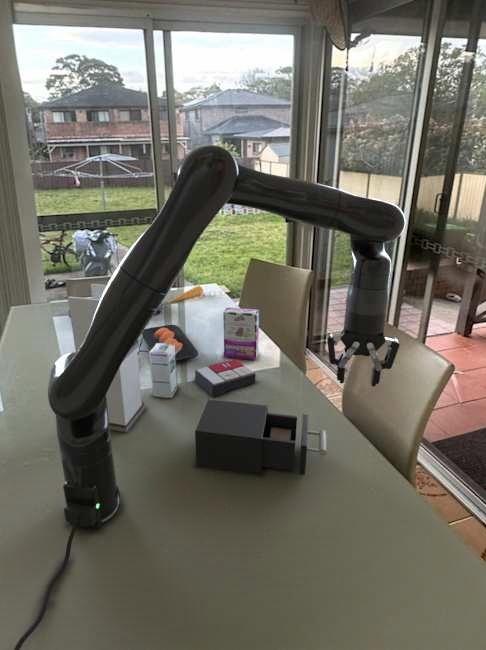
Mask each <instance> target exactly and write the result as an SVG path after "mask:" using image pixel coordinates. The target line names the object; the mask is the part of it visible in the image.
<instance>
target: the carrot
mask: <svg viewBox="0 0 486 650" xmlns="http://www.w3.org/2000/svg"><path fill="white" fill-rule="evenodd" d="M203 293H204V288H203V286H200V285H196V286H194V287H192V288H190V289H189V290H187V291H185V292H183V293H181V294H179V295H177V296H176V297H173V298H172V299H170V300H168V301H167V302H166V304H169V303H174V302H178V301H182V300H186V299H190V298H195V297H198V296H201V295H202V294H203Z"/></svg>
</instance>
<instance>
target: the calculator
mask: <svg viewBox="0 0 486 650" xmlns="http://www.w3.org/2000/svg"><path fill="white" fill-rule="evenodd" d="M256 375H257V374H256V373H255V372H254V371H253V370H252V369H250V368H249V367H247V366H246V365H244V364H243V363H241V362H240V361H239V360H237V358H234V359H231V360H227V361H223V362H219V363H216V364H211V365H208V366H205V367H200V368H198V369H195V370H194V381H195V382H196V383H197V384H198V385H199V386H200V387H201V388H203V390H205V391H206V392H207V393H208V394H209V395H210V396H211V397H214V398H215V397H217V396H221V395H224V394H226V392H229V391H231V390H232V391H233V390H235V389H239V388H242V387H246V386H249V385H252V384H256Z"/></svg>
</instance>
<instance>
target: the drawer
mask: <svg viewBox="0 0 486 650" xmlns="http://www.w3.org/2000/svg"><path fill="white" fill-rule="evenodd" d="M301 421H302V423H301V425H302V426H301V434H300V435H301V436H300V438H301V439H300V453H299V470H298V471H299V472H298V475H299V476H305V475H306V466H307V465H306V464H307V453H308V452H310V453H311V452H312V453H318V454H319V455H320V456H326V455H327V454H328V443H327V431H326V430H325V429H321V430H319V431H317V430H316V431H315V430H309V414H305V413H303V414H302V420H301ZM297 422H298V416H297V415H292V414H291V415H290V414H284V413H283V414H281V413H274V412H273V413H272V412H268V413H267V417H266V422H265V427H264V433H263V438H262V465H261V466H262V468H263V467H264V468H270V469H279V470H286V471H294V468H295V454H296V441H297V438H296V437H297V426H298V425H297ZM271 427H274V428H282V429H291V439H290V440H283V439H275V438H270V433H271ZM308 435H312V436H318V447H319V448H316V447H308Z"/></svg>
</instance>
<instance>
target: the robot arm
mask: <svg viewBox="0 0 486 650" xmlns="http://www.w3.org/2000/svg"><path fill="white" fill-rule="evenodd" d="M226 205H234V206H241V207H246V208H251V209H255V210H259V211H263V212H267V213H270V214H272V215H276V216H279V217H281V218H285V219H288V220H291V221H294V222H298V223H301V224H305V225H309V226H313V227H316V228H320V229H325V230H331V231H337V232H341V233H345V234H348V236H349V244H350V245H349V247H350V253H351V267H350V275H349V285H348V289H347V292H346V299H345V311H344V313H345V314H344V323H343V329H342V330H341V333H337V334H334V333H332V332H328V333H327V334H326V341H327V350H328V351H327V352H328V358H329V359H328V361H329V363H330V365H335V366H337V368H336V379H337V381H339V384H344V383H345V374H346V365H347V363H348V362H349V361H350V360H351V359H352V357H353V356H363V357H370V358H371V362H372V363H373V365H372V368H371V374H370V375H371V376H370V384H371V385H370V386H371V387H376V385H379V383H380V380H381V373H382V371H383V370H386V369H387V370H391V369H392V367H393V365H394V363H395V359H396V357H397V354H398V351H399V348H400V343H399V339H398V338H397V337H392V338H390V337H387V336H385V334H384V333H385V326H386V320H387V311H388V304H389V288H390V287H389V285H390V279H391V270H392V260H391V258H390V256H389V255H388V253H387V252H386V250H385V244H387V243H388V244H389V243H392V242H393V241H395V240H396V239H398V238H399V237H400V236H401V235H402V233H403V232H404V230H405V227H406V217H405V214H404V212H403V210H402V209H401V208H400V207H399V206H398V205H396V204H394V203H391V202H388V201H384V200H380V199H378V198H371V197H370V198H369V197H364V196H359V195H356V194H353V193H351V192H348V191H346V190H343V189H341V188H337V187H333V186H330V185H326V184H322V183H318V182H316V181H315V182H314V181H310V180H306V179H300V178H294V177H287V176H282V175H276V174H272V173H268V172H263V171H259V170H256V169H253V168H250V167H247V166H245V165H241V164H240V163H238V162H237V161H236V159H235V157H234V155H233V153H231V152H230V151H229V150H228V149H227V148H224V147H223V146H219V145H215V144H205V145H199V146H197V147H195V148H193V149H192V150H190V151H188V153H186V154H185V155H184V157H183V158H182V159H181V160H180V161H179V164H178V167H177V171H176V180H175V181H174V184H173V186H172V188H171V190H170V192H169V195H168V196H167V198H166V200H165V202H164V204H163V206H162V208H161V209H160V211H159V212H158V214H157V216H156V217H155V219H154V220H153V221H152V223H150V225H149V226H148V227H147V228H146V229H145V230H144V232H142V234H141V235H140V236H139V238H138V239H137V240H136V241H135V242H134V244H132V246H131V247H130V249H129V250H128V251H127V253H126V254H125V256H124V257H123V258H122V259H121V261H120V263H119V264H118V266H117V268H116V269H115V271H114V272H113V275H112V276H111V278H110V279H109V280H108V283H107V284H106V285H107V286H106V288H105V290H104V293H103V295H102V297H101V300H100V302H99V305H98V307H97V310H96V312H95V315H94V318H93V321H92V324H91V326H90V329H89V332H88V334H87V336H86V338H85V340H84V342H83V344H82V345H81V347H80V349H79V350H78V352H76V351H72V352H69V353H66V354H63V356H61V357H59V358H58V359H57V360H56V361H55V362H54V363H53V366H52V368H51V369H50V374H49V380H48V386H47V399H48V404H49V407H50V409H51V411H52V413H54V415H55V424H56V425H55V426H56V437H57V443H58V448H59V454H60V460H61V465H62V472H63V477H64V484H63V485H62V487H63V493H64V498H65V499H64V500H65V506H64V508H63V512H64V519H65V522H66V523H69V524H70V525H71V526H72V528H71V530H70V533H69V536H68V540H67V543H66V549H65V555H64V558H63V561H62V563H61V565H60V566H59V568H58V569H57V571H56V573H55V574H54V575H53V577H52V578H51V580H50V582H49V583H48V586H47V588H46V590H45V593H44V596H43V600H42V604H41V608H40V611H39V613H38V615H37V617H36V619H35V620H34V622H33V623H32V624H31V626H30V627H28V629H27V630H26V631H25V633H24V634H23V635H21V637H20V638H19V640H18V642H17V643H16V645H15V647H14V649H13V650H21V648H22V646H23V644H24V643H25V641H26V640H28V638H29V637H30V636H31V635H32V634H33V632H35V630H36V629H37V628H38V626H39V625H40V623H41V622H42V620H43V618H44V615H45V613H46V610H47V608H48V603H49V599H50V595H51V592H52V589H53V587H54V586H55V583H56V582H57V580H58V578H59V577H60V576H61V575H62V573H63V571H64V570H65V568H66V566H67V564H68V562H69V559H70V556H71V548H72V544H73V540H74V537H75V534H76V531H77V528H78V527H84V528H91V529H94V530H95V529H96V530H100V529H101V527H102V526H103V525H104V524H106V523H107V522H109V521H110V520H112V519H113V518H114V517H115V516H116V514H117V513H118V511H119V508H120V498H121V494H120V489H119V487H118V485H117V478H116V470H115V469H116V468H115V461H114V454H113V445H112V444H113V443H112V436H111V429H110V426H109V416H108V407H107V400H106V394H107V392H108V390H109V388H110V386H111V383H112V381H113V379H114V377H115V375H116V373H117V371H118V369H119V367H120V366H121V364H122V362H123V360H124V359H125V357H126V355H127V354H128V352H129V351H130V350H131V348H132V347H133V345H134V344H135V342H136V341H137V340H139V338H140V337H141V336H142V332H143V330H144V329H146V328H147V326H148V324H149V323H150V321H151V320H152V318H153V317H154V316H155V314H156V313H157V312H156V311H157V310H158V308H159V307H160V305H161V304H163V302H164V300H165V299H166V297H167V295H168V294H169V292H170V291H171V289H172V287H173V286H174V283H176V280H177V279H178V277H179V276H180V273H181V272H182V270H183V268H184V267H185V264H186V263H187V260H188V259H189V257H190V255H191V253H192V251H193V249H194V247H195V246H196V244H197V242H198V241H199V239H200V237H201V236H202V235H203V233H204V232H205V230H206V229H207V228H208V226H209V225H210V224H211V223H212V221H213V220H214V219H215V218H216V216H217V215H218V214H219V213H220V211H221V210H222V209H223V208H224V206H226ZM340 341H341V342H342V344H343V345H344V348H343V349H342V352H341V353H340V355H339V356H337V355H336V349H335V347H336V346H338V345H339V342H340ZM384 344H385V347H386V353H385V356H384V359H382V360H380V358H379V355H378V352H377V351H378V350H379V349H380V348H382V346H383V345H384Z"/></svg>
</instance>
